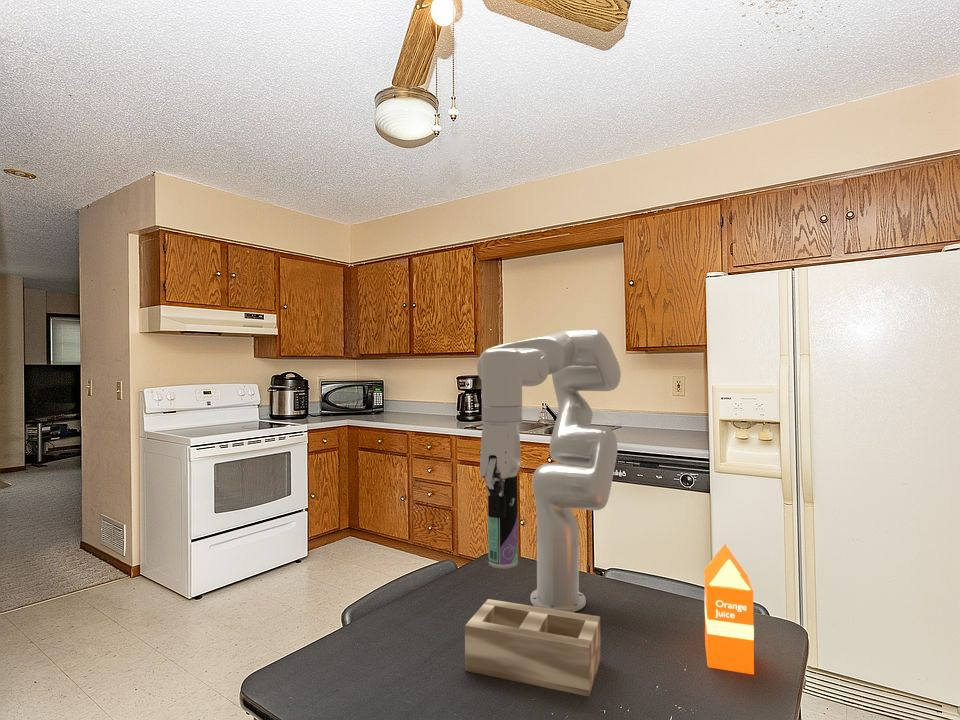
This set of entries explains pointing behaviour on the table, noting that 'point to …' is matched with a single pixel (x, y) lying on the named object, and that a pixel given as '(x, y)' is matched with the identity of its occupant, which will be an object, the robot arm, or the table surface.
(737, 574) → the orange juice
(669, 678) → the table surface
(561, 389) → the robot arm
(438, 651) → the table surface
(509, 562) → the spray can
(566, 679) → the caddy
